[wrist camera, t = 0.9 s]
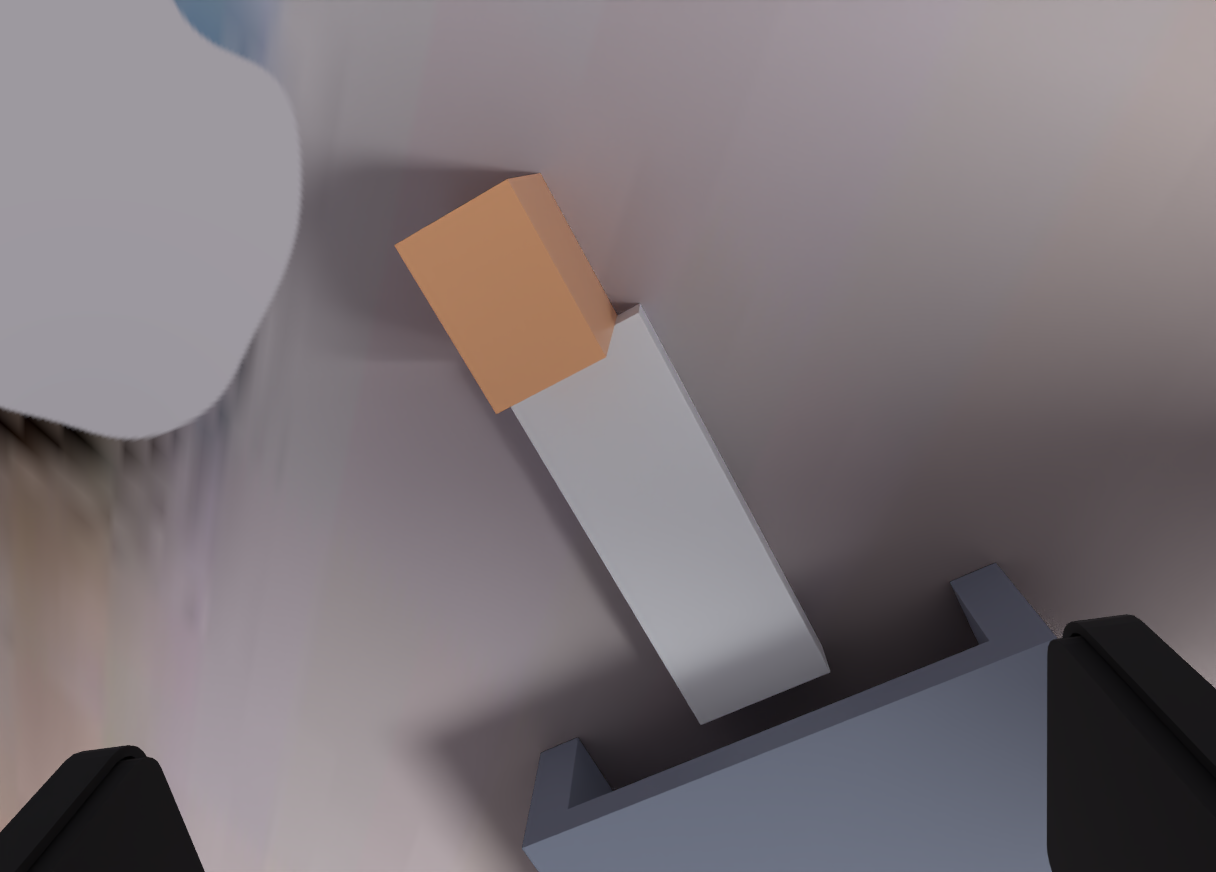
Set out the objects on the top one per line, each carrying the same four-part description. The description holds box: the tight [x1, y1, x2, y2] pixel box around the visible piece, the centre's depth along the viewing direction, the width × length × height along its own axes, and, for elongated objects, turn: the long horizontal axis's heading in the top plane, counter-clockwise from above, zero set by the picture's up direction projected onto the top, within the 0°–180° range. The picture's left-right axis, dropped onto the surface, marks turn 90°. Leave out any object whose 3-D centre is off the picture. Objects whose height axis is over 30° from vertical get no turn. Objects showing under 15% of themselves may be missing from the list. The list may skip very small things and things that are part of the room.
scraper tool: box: [394, 173, 830, 725], centre depth 31 cm, size 6×23×7 cm, turn 28°
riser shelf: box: [522, 563, 1057, 872], centre depth 36 cm, size 22×10×6 cm, turn 119°
